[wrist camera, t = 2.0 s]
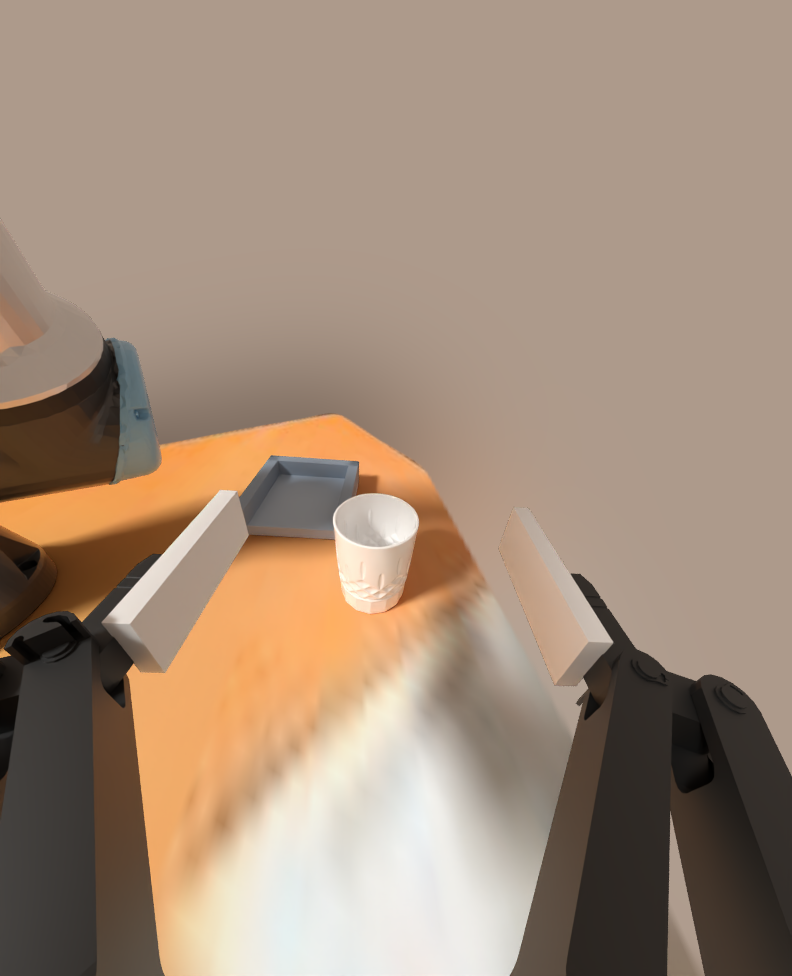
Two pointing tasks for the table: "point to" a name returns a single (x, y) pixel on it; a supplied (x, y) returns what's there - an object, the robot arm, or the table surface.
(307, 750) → the table surface
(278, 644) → the table surface
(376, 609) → the white cup
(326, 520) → the dock
